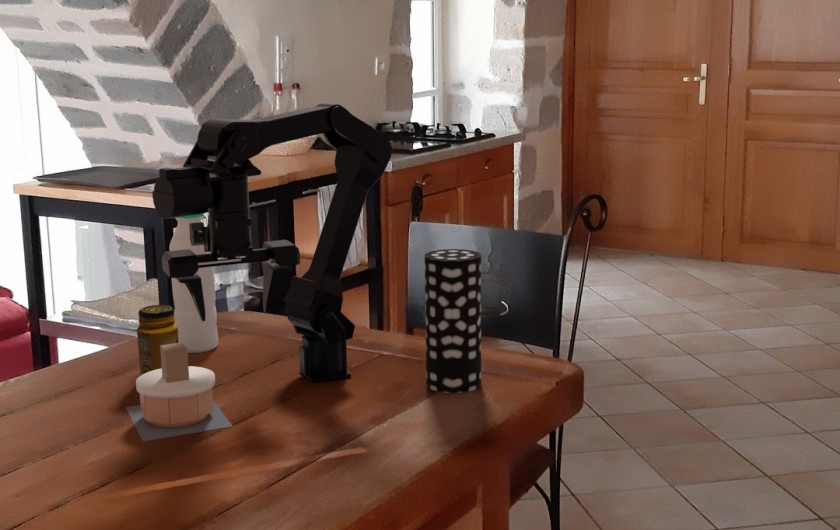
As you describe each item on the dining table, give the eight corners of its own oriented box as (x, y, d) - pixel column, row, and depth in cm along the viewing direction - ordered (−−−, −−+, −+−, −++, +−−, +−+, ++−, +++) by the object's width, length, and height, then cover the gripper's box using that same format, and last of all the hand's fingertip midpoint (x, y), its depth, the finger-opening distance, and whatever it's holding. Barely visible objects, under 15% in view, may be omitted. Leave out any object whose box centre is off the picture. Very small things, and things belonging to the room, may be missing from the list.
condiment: (190, 385, 163) (185, 309, 161) (136, 396, 159) (130, 318, 156) (173, 373, 169) (168, 299, 167) (120, 383, 165) (114, 308, 162)
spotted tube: (452, 397, 157) (451, 263, 152) (414, 383, 163) (412, 254, 158) (492, 384, 162) (492, 254, 157) (454, 371, 168) (454, 246, 164)
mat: (209, 398, 157) (209, 394, 157) (233, 430, 145) (232, 426, 145) (125, 411, 153) (125, 407, 153) (142, 445, 140) (142, 441, 140)
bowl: (203, 401, 155) (201, 370, 154) (218, 422, 146) (216, 390, 145) (138, 411, 151) (135, 379, 150) (149, 433, 143) (147, 400, 142)
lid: (203, 368, 155) (201, 331, 153) (224, 390, 145) (222, 351, 144) (129, 380, 150) (126, 342, 149) (145, 403, 141) (142, 363, 139)
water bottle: (168, 348, 182) (158, 202, 177) (204, 339, 187) (195, 197, 182) (190, 356, 177) (180, 207, 172) (226, 347, 182) (218, 202, 176)
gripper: (276, 196, 162) (281, 296, 165) (151, 206, 154) (158, 311, 158) (299, 207, 152) (303, 313, 155) (166, 219, 145) (174, 330, 148)
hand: (234, 316), depth 154 cm, fingers open, 9 cm apart
